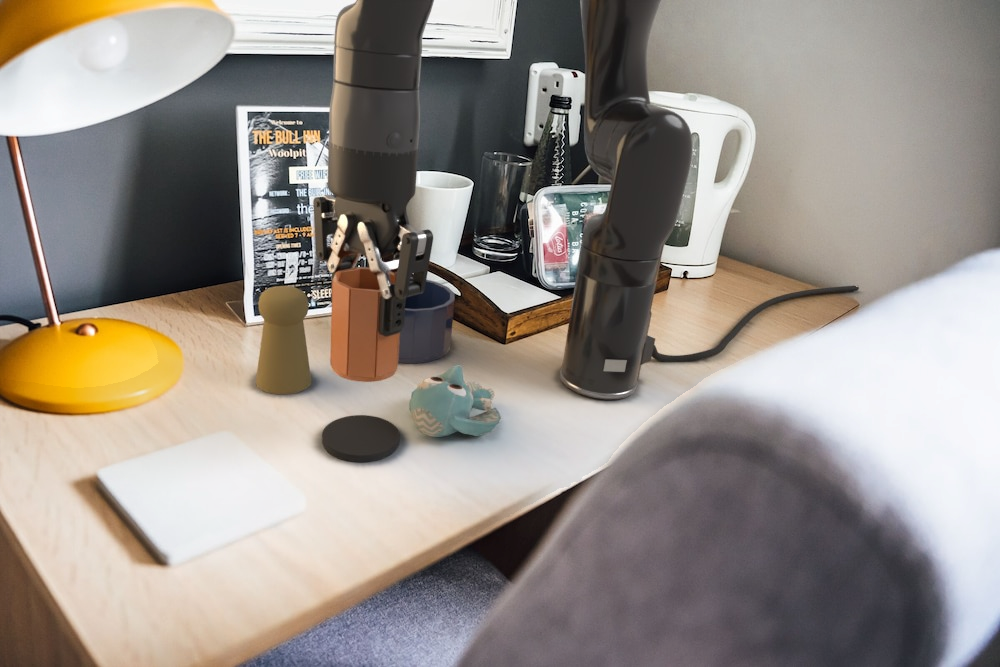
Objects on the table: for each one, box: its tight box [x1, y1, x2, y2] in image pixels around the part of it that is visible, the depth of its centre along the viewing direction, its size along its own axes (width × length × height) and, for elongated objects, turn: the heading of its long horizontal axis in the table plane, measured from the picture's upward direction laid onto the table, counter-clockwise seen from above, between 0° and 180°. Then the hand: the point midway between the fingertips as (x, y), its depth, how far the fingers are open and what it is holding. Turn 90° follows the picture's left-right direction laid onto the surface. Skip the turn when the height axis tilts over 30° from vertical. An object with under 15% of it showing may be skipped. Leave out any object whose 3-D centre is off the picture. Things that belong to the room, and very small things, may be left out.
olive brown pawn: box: [255, 285, 312, 395], centre depth 84 cm, size 6×6×11 cm
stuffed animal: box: [408, 364, 502, 438], centre depth 81 cm, size 11×7×12 cm
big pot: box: [398, 276, 456, 364], centre depth 98 cm, size 12×12×7 cm
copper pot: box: [329, 266, 400, 383], centre depth 72 cm, size 6×6×9 cm
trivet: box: [321, 414, 401, 463], centre depth 77 cm, size 8×8×1 cm
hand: (365, 320), depth 72 cm, fingers closed on copper pot, 6 cm apart
